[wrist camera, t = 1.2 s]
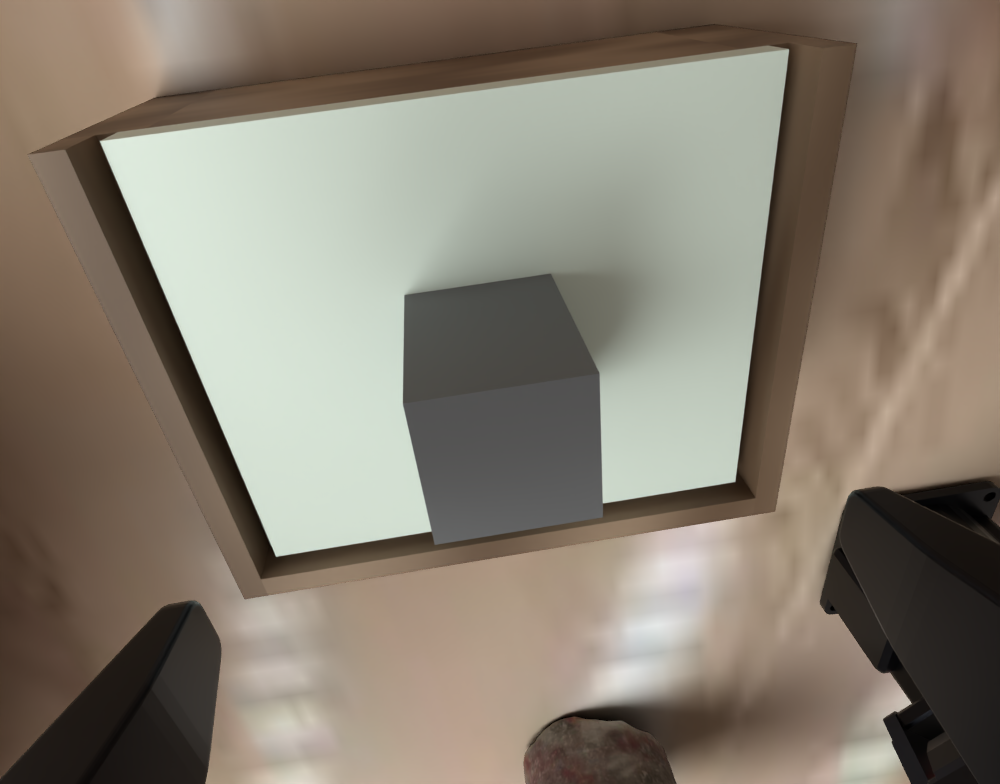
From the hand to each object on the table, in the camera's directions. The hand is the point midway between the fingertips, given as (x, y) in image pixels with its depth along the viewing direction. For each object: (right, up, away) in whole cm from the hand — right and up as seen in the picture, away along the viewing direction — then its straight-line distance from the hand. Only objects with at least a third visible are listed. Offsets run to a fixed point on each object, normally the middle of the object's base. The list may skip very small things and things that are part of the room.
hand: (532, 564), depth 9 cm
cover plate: (-1, +4, +6) cm, 7 cm away
